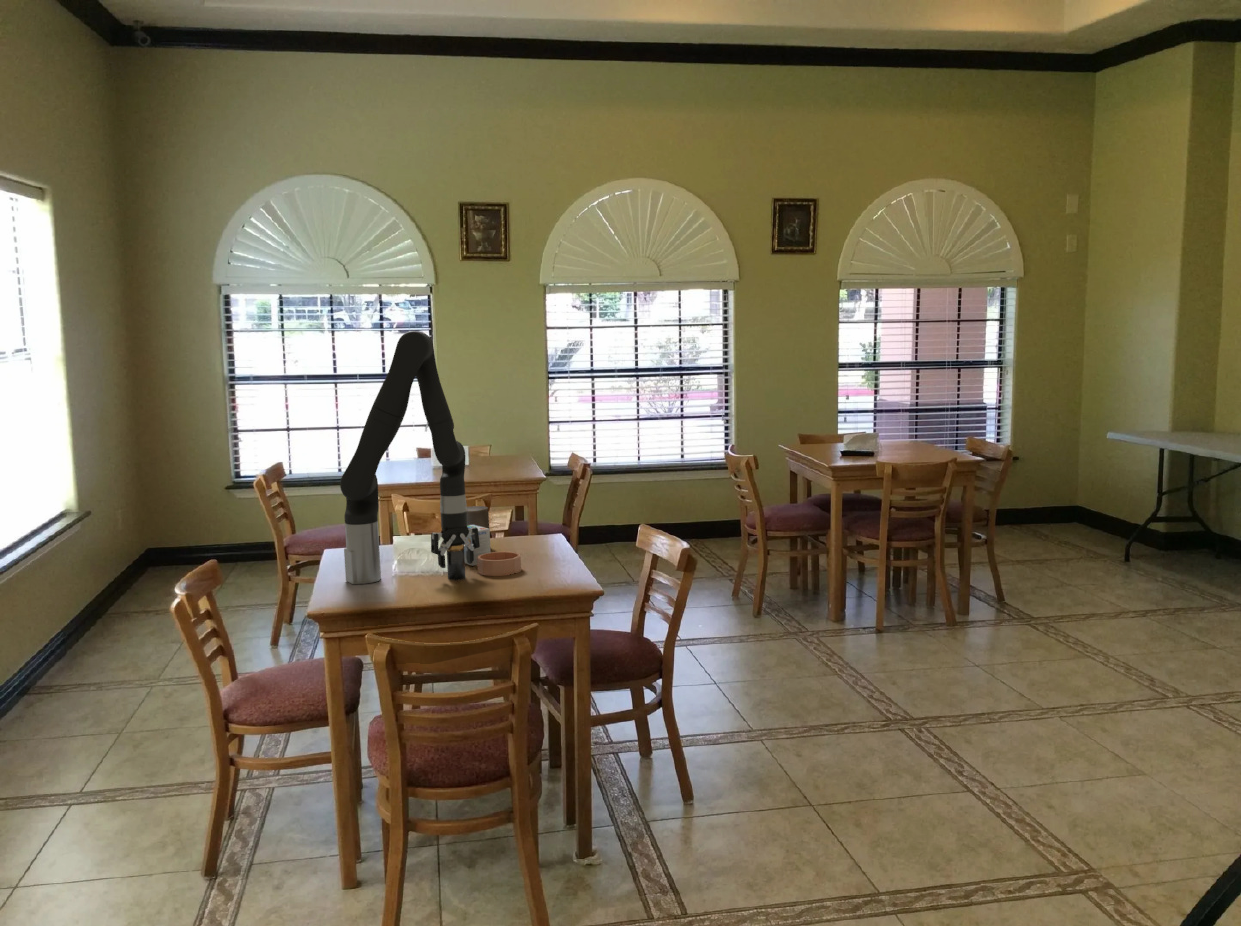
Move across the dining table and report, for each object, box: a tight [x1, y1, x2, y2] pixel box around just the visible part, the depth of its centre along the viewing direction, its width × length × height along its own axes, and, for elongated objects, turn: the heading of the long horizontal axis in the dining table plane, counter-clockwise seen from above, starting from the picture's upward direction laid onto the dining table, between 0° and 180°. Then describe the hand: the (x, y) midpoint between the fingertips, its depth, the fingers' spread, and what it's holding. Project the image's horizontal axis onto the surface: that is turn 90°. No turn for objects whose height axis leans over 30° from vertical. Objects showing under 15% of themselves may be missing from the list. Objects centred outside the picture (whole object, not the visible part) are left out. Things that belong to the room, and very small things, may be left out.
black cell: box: [446, 543, 466, 581], centre depth 293 cm, size 5×5×10 cm
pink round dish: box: [477, 551, 522, 577], centre depth 301 cm, size 13×13×4 cm
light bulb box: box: [464, 525, 492, 567], centre depth 315 cm, size 11×7×11 cm, turn 37°
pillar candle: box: [467, 505, 490, 529], centre depth 334 cm, size 10×10×15 cm
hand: (456, 565), depth 293 cm, fingers open, 8 cm apart
